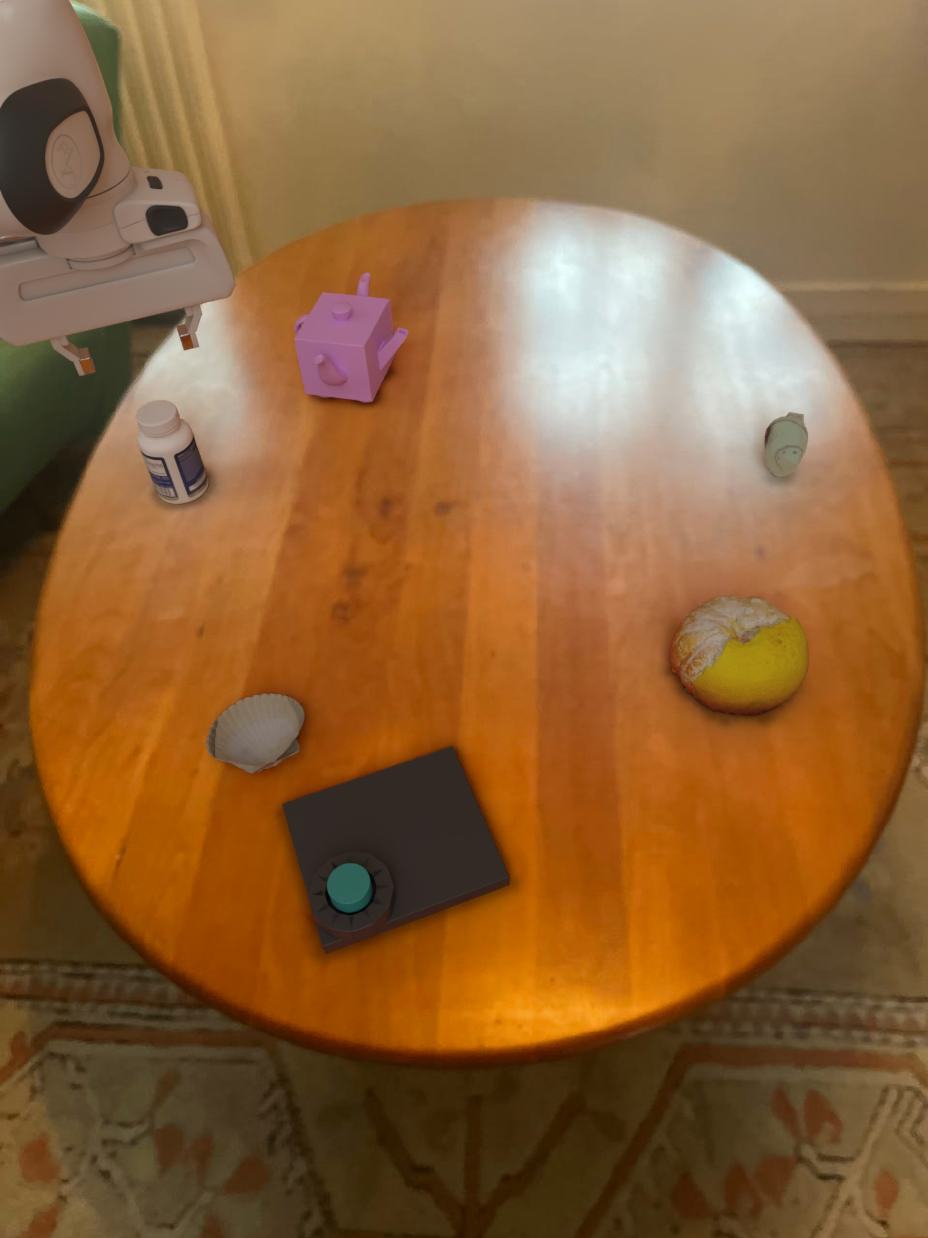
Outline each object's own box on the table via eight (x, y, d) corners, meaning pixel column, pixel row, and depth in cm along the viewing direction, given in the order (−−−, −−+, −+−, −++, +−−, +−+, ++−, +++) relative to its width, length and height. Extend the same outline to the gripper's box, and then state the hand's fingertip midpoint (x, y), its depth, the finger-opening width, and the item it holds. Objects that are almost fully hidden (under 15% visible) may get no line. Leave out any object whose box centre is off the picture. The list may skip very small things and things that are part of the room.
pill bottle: (205, 465, 101) (180, 389, 94) (213, 498, 98) (188, 422, 90) (154, 477, 100) (125, 402, 93) (160, 510, 97) (130, 435, 90)
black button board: (326, 960, 67) (320, 944, 64) (285, 812, 74) (277, 793, 72) (512, 890, 69) (512, 872, 67) (453, 754, 77) (451, 734, 75)
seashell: (290, 707, 83) (197, 726, 80) (290, 680, 81) (195, 698, 78) (319, 771, 77) (220, 795, 74) (320, 743, 75) (218, 766, 72)
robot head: (794, 503, 94) (810, 449, 89) (752, 496, 95) (765, 443, 90) (799, 451, 99) (815, 398, 94) (759, 445, 100) (773, 392, 94)
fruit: (781, 610, 85) (811, 571, 77) (801, 724, 80) (835, 694, 73) (656, 614, 84) (673, 576, 77) (669, 728, 80) (689, 699, 73)
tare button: (336, 919, 66) (333, 910, 65) (325, 881, 68) (322, 871, 66) (378, 904, 66) (375, 894, 65) (365, 866, 68) (363, 856, 67)
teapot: (390, 439, 103) (380, 362, 95) (276, 424, 105) (258, 348, 98) (434, 344, 114) (428, 268, 106) (330, 332, 116) (317, 258, 109)
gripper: (-48, 259, 72) (25, 406, 83) (217, 202, 76) (254, 350, 87) (-49, 221, 76) (20, 367, 87) (203, 169, 80) (240, 314, 91)
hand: (139, 358), depth 87 cm, fingers open, 8 cm apart
